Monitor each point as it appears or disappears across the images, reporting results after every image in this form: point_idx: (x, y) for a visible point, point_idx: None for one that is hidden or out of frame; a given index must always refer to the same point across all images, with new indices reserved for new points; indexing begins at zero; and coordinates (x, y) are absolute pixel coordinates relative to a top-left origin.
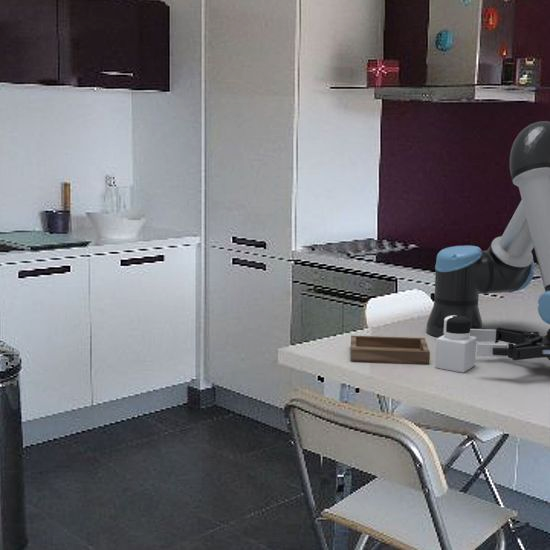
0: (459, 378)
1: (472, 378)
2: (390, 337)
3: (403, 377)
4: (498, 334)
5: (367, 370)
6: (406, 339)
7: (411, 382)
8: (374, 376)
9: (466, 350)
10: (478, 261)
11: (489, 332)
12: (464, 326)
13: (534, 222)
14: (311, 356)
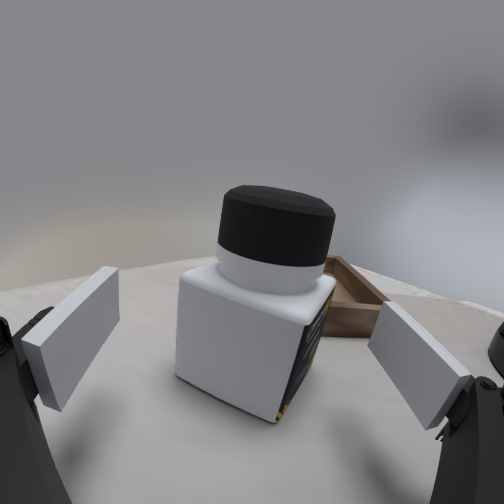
0: (120, 351)
1: (110, 378)
2: (363, 279)
3: (153, 283)
4: (466, 409)
5: None
6: (372, 294)
7: (118, 283)
8: (166, 264)
9: (189, 312)
10: None
11: (432, 365)
12: (227, 214)
13: None
14: None
